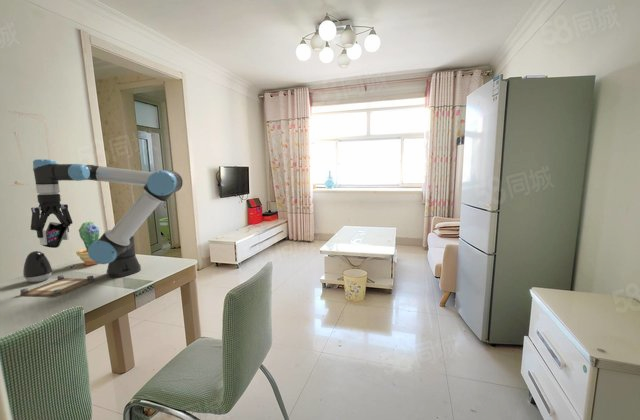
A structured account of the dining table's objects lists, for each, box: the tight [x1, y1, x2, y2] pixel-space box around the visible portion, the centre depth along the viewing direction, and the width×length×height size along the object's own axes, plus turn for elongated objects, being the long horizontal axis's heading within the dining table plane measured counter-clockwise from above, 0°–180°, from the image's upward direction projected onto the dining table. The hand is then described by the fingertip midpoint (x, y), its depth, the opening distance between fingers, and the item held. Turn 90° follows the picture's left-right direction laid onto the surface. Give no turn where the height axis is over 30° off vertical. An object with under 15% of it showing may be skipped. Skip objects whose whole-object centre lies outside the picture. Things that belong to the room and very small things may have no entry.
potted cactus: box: [75, 221, 101, 266], centre depth 165 cm, size 15×15×25 cm
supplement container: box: [42, 221, 69, 249], centre depth 129 cm, size 7×7×10 cm
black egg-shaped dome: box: [22, 250, 53, 283], centre depth 139 cm, size 10×10×15 cm
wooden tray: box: [19, 274, 95, 297], centre depth 130 cm, size 18×18×2 cm
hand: (55, 241), depth 129 cm, fingers closed on supplement container, 9 cm apart
